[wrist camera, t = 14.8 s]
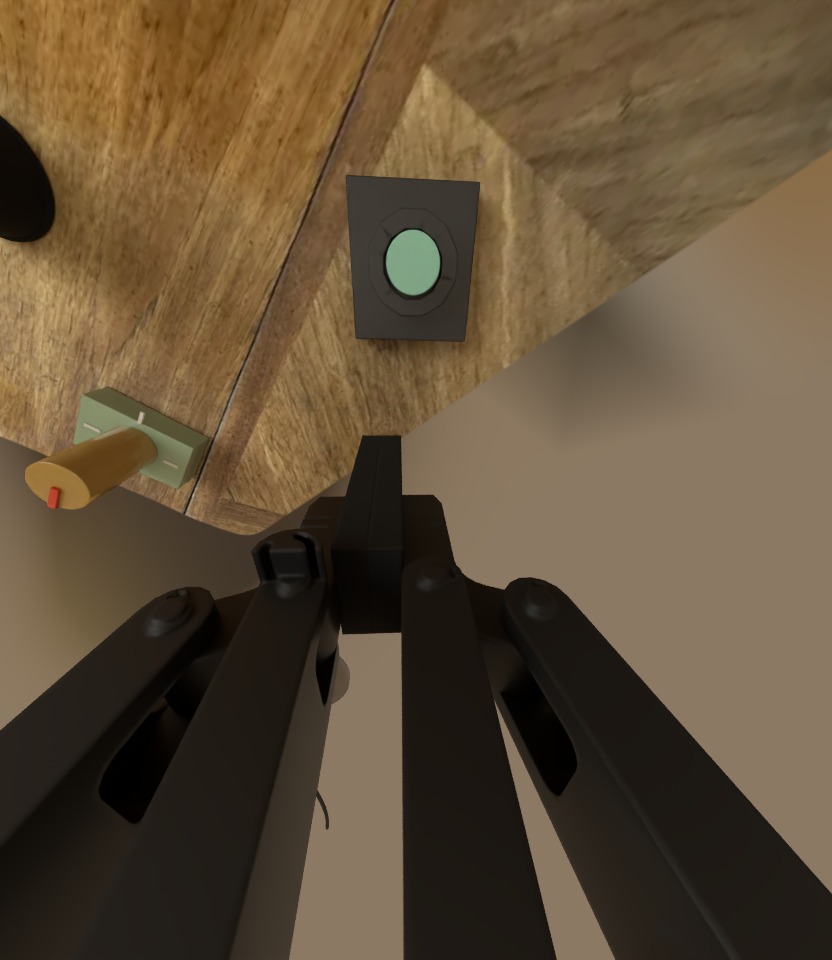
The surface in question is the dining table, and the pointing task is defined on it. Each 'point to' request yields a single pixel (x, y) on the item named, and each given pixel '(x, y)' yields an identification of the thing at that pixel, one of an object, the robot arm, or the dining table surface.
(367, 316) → the button base
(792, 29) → the dining table surface
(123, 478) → the dial
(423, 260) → the round green button
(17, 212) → the aerosol can
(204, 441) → the dial panel
